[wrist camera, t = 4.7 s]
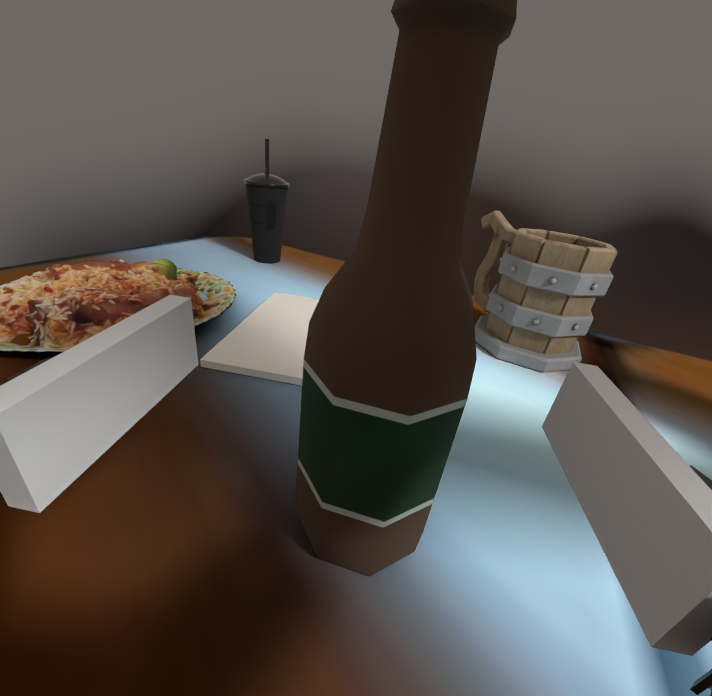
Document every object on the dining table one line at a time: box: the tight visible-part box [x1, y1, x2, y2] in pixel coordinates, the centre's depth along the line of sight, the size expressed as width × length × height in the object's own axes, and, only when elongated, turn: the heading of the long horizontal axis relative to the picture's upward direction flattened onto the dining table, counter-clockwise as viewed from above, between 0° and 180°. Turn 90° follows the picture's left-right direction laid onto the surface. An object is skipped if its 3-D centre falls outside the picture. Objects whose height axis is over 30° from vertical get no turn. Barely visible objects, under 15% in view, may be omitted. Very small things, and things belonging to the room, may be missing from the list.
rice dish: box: [0, 259, 236, 352], centre depth 41 cm, size 28×28×5 cm
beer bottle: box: [296, 0, 517, 576], centre depth 16 cm, size 8×8×24 cm
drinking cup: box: [244, 139, 290, 263], centre depth 62 cm, size 8×8×20 cm
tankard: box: [474, 211, 617, 372], centre depth 46 cm, size 20×13×15 cm, turn 19°
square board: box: [200, 292, 319, 386], centre depth 41 cm, size 20×20×1 cm
